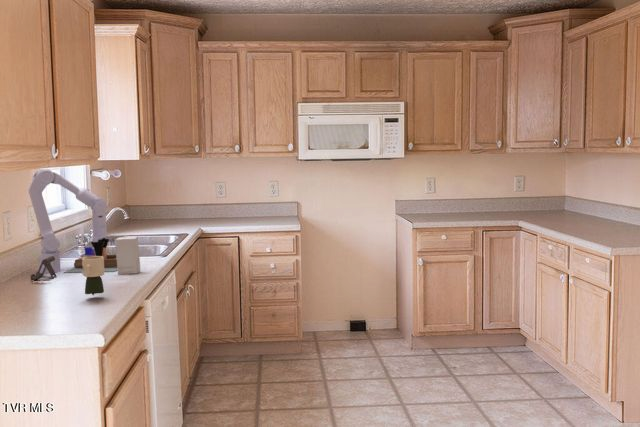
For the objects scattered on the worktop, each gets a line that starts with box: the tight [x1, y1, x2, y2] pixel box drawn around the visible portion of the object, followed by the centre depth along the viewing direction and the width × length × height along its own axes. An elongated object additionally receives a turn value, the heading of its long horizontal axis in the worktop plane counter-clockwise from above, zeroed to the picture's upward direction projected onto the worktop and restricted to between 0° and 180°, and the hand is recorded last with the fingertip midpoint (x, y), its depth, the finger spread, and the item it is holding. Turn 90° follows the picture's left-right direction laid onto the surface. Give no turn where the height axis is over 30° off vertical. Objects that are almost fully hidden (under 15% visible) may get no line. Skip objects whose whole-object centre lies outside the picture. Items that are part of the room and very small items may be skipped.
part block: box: [93, 247, 108, 259], centre depth 271 cm, size 4×4×5 cm
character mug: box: [82, 256, 105, 296], centre depth 212 cm, size 11×7×13 cm, turn 0°
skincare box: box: [114, 236, 141, 275], centre depth 253 cm, size 8×6×15 cm
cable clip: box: [84, 246, 95, 256], centre depth 295 cm, size 12×4×6 cm, turn 173°
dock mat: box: [63, 266, 118, 274], centre depth 264 cm, size 16×21×1 cm
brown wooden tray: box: [73, 254, 117, 268], centre depth 272 cm, size 14×20×3 cm
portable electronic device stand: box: [30, 256, 58, 282], centre depth 244 cm, size 9×8×8 cm
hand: (100, 256), depth 272 cm, fingers closed on part block, 4 cm apart
